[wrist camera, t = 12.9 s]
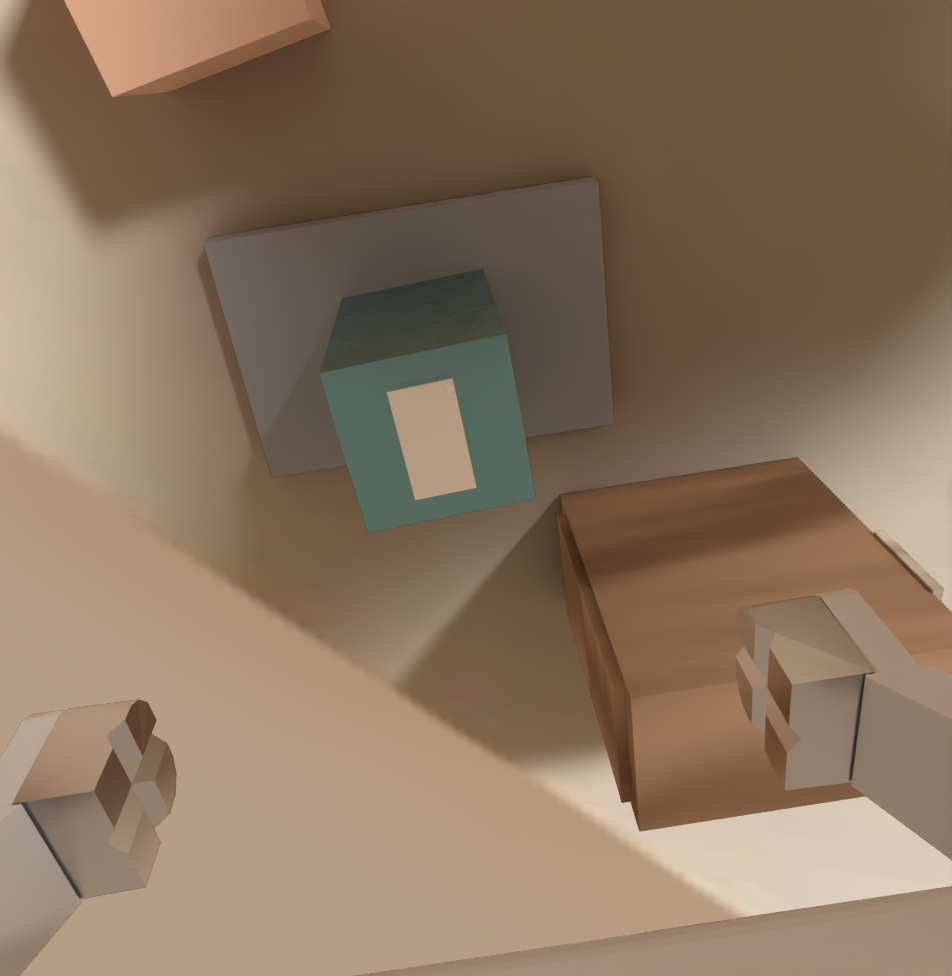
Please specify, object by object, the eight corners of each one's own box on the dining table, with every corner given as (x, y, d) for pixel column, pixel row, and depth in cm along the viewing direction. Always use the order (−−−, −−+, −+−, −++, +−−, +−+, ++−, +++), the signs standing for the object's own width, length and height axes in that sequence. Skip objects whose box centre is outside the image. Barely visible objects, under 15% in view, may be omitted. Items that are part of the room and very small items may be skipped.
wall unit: (551, 493, 30) (618, 696, 20) (807, 453, 30) (997, 638, 20) (564, 605, 32) (629, 835, 23) (800, 568, 32) (967, 782, 23)
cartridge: (342, 298, 25) (318, 375, 19) (482, 268, 25) (506, 335, 19) (377, 427, 27) (367, 536, 21) (507, 400, 27) (537, 501, 21)
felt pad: (210, 237, 25) (202, 243, 24) (591, 176, 25) (598, 180, 24) (275, 465, 29) (271, 477, 28) (607, 413, 29) (614, 424, 28)
